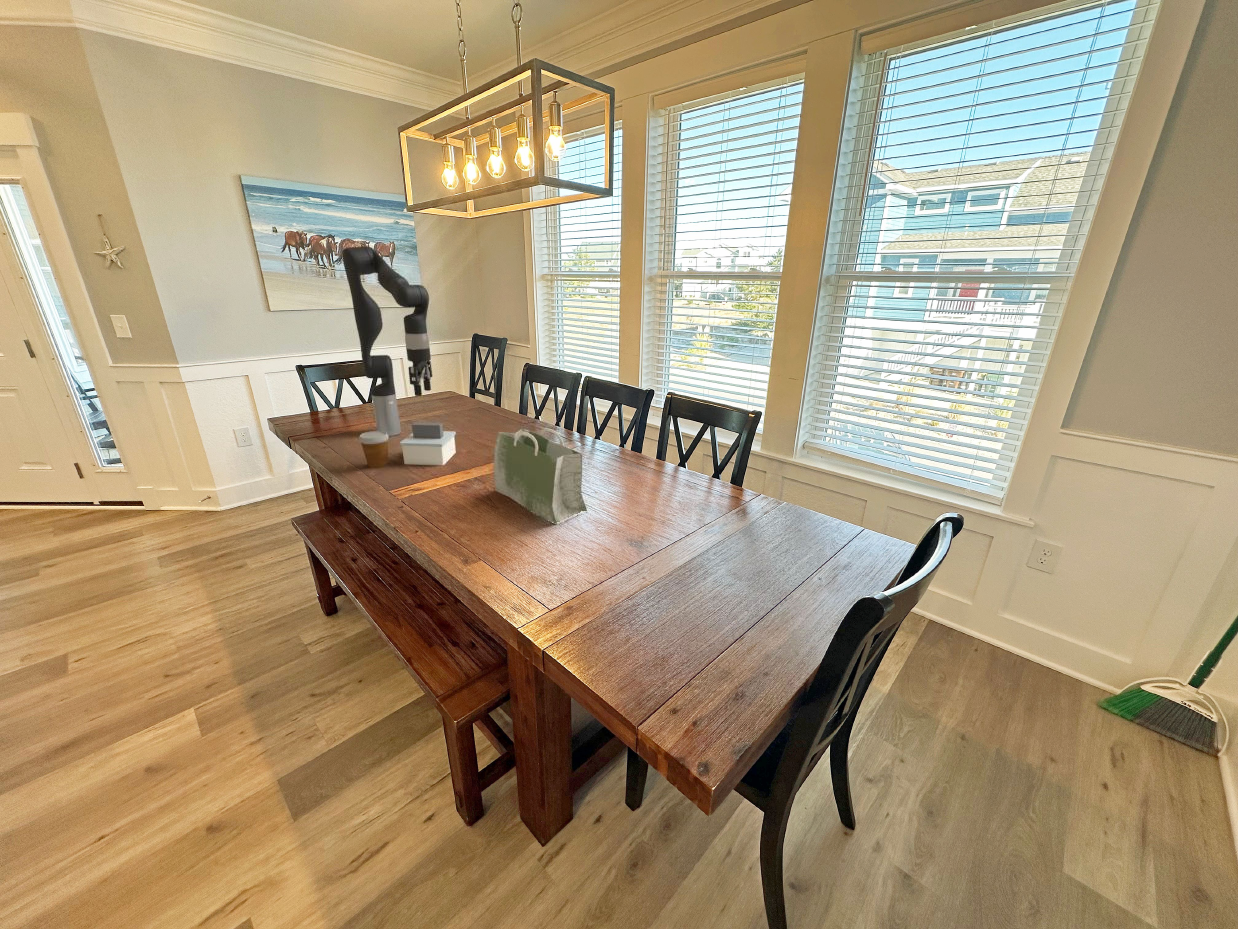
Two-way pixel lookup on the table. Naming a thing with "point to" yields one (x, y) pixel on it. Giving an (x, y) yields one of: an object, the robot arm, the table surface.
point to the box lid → (427, 435)
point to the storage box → (429, 454)
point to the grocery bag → (539, 474)
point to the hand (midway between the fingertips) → (423, 393)
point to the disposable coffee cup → (375, 448)
